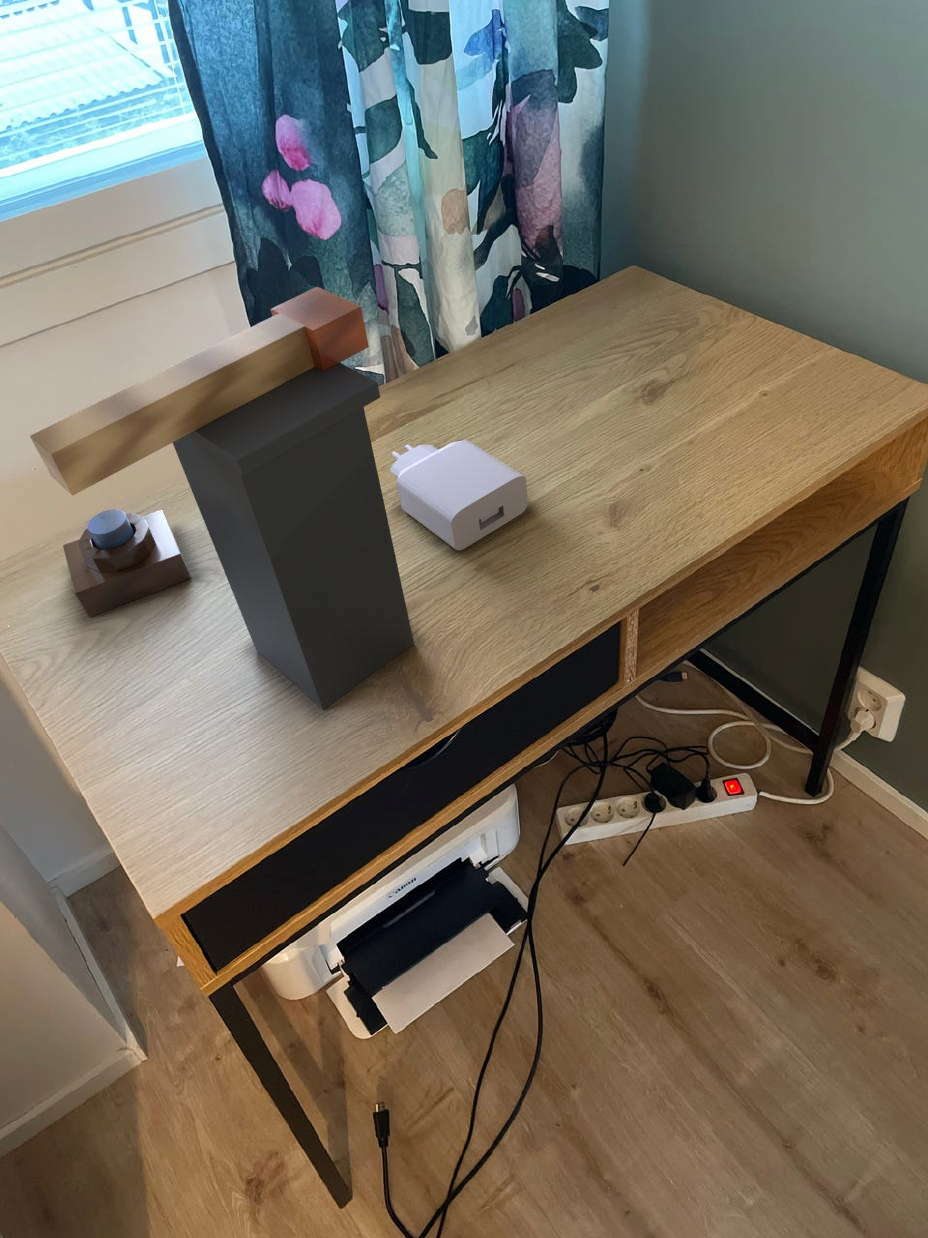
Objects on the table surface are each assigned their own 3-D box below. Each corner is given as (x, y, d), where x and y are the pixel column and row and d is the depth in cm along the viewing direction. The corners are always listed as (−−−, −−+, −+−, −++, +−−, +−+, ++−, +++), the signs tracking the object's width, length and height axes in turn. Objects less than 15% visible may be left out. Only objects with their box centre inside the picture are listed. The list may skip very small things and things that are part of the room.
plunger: (99, 555, 83) (90, 539, 82) (93, 534, 86) (84, 517, 84) (137, 541, 84) (129, 525, 83) (130, 521, 86) (121, 504, 85)
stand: (329, 724, 72) (237, 460, 54) (241, 645, 80) (135, 389, 61) (430, 648, 77) (377, 381, 58) (339, 580, 84) (267, 323, 66)
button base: (88, 617, 84) (66, 579, 81) (76, 568, 90) (54, 530, 86) (191, 578, 87) (174, 539, 83) (173, 533, 92) (156, 494, 88)
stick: (80, 503, 52) (58, 461, 50) (44, 470, 55) (22, 429, 53) (369, 347, 62) (361, 306, 60) (326, 325, 65) (317, 286, 62)
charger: (437, 449, 98) (528, 510, 89) (368, 487, 94) (456, 555, 85) (431, 412, 94) (526, 471, 85) (359, 450, 91) (450, 516, 82)
